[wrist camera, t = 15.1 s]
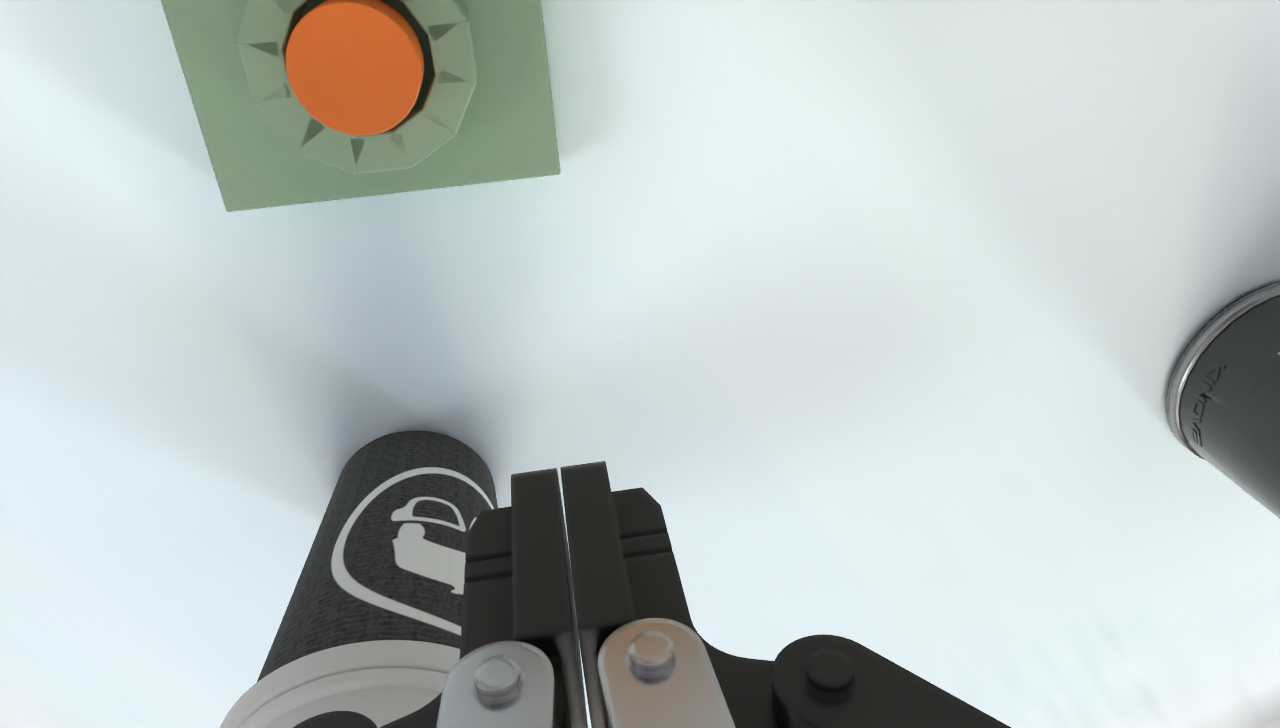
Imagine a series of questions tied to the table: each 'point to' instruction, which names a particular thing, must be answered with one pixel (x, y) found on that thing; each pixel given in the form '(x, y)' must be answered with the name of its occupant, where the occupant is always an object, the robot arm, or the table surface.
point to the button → (355, 65)
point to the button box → (381, 163)
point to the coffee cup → (377, 588)
